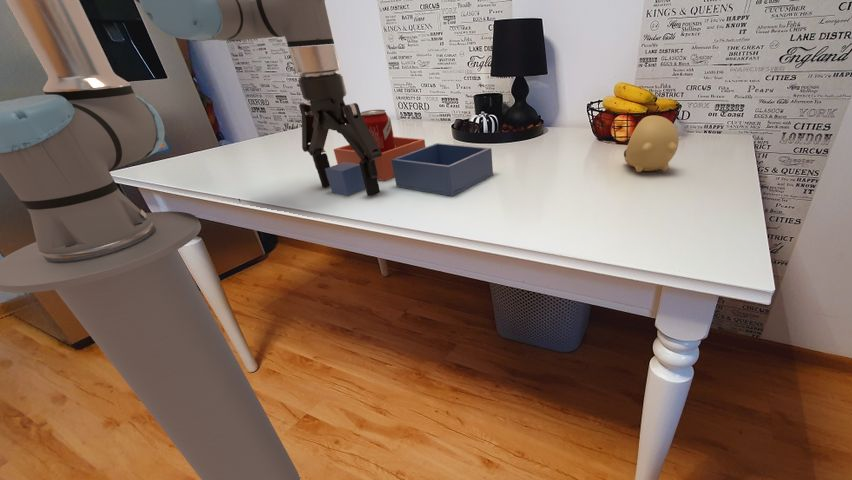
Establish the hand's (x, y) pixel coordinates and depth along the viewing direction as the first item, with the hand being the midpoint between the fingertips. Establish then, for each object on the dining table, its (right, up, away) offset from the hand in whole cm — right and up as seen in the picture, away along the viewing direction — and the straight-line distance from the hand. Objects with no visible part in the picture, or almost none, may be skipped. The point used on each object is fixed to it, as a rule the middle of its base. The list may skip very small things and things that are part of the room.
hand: (350, 190), depth 82 cm
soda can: (+3, +9, +13) cm, 16 cm away
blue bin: (+19, +3, +2) cm, 20 cm away
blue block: (0, 0, 0) cm, 0 cm away
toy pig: (+61, +4, +1) cm, 62 cm away
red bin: (+3, +8, +13) cm, 16 cm away
